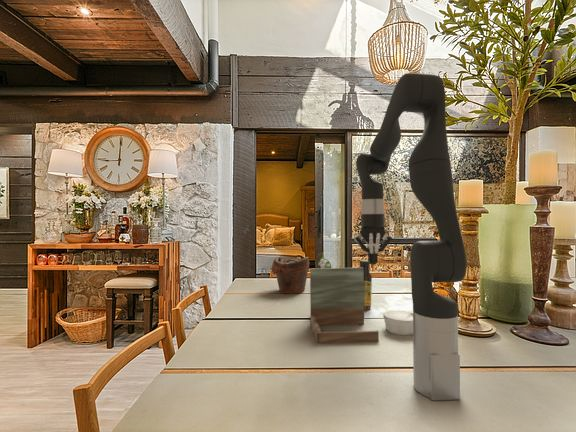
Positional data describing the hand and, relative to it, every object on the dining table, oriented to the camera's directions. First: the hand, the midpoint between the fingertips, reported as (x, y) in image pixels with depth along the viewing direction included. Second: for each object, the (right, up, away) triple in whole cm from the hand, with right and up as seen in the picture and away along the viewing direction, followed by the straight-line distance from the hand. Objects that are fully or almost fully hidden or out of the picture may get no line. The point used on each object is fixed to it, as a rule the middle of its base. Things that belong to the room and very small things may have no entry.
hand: (372, 264), depth 113 cm
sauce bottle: (+3, -22, +26) cm, 34 cm away
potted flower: (-15, -23, +15) cm, 31 cm away
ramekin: (+9, -23, 0) cm, 24 cm away
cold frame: (-10, -22, -2) cm, 25 cm away
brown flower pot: (-27, -22, +59) cm, 68 cm away
